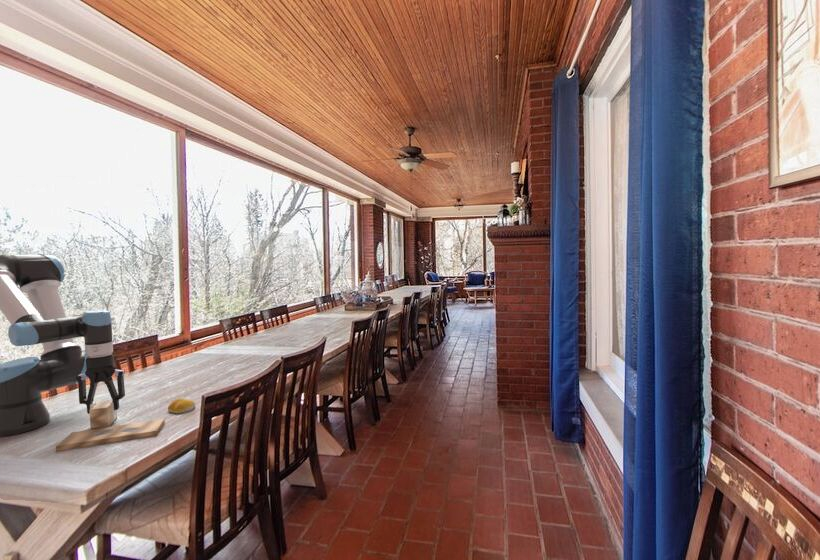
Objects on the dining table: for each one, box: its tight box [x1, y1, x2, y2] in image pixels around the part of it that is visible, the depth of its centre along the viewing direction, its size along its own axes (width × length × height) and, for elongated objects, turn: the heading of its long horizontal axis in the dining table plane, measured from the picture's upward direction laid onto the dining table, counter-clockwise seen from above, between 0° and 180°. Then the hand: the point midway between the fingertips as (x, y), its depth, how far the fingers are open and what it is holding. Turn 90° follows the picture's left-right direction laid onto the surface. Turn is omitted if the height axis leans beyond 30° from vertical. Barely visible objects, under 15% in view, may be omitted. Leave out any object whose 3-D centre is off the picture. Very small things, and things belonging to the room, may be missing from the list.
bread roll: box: [167, 398, 196, 414], centre depth 145 cm, size 8×9×4 cm
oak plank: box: [55, 418, 166, 452], centre depth 124 cm, size 26×10×2 cm, turn 111°
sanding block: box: [89, 399, 118, 430], centre depth 133 cm, size 5×8×7 cm, turn 21°
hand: (104, 420), depth 133 cm, fingers closed on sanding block, 5 cm apart
